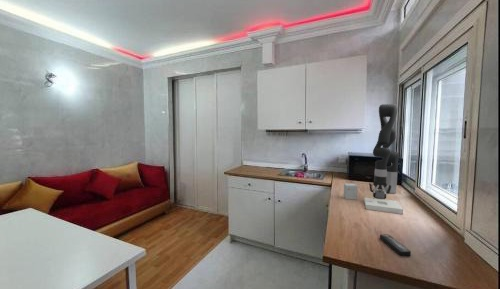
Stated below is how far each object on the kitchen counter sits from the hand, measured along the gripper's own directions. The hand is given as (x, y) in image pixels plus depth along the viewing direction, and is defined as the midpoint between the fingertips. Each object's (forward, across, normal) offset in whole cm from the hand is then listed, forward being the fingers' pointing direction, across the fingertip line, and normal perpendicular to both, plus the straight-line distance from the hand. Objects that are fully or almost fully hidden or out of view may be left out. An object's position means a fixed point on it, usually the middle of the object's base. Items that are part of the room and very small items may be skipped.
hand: (379, 198), depth 156 cm
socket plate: (+2, 0, +13) cm, 13 cm away
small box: (+2, +19, +1) cm, 19 cm away
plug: (+2, 0, 0) cm, 2 cm away
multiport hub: (+3, +2, +66) cm, 66 cm away
